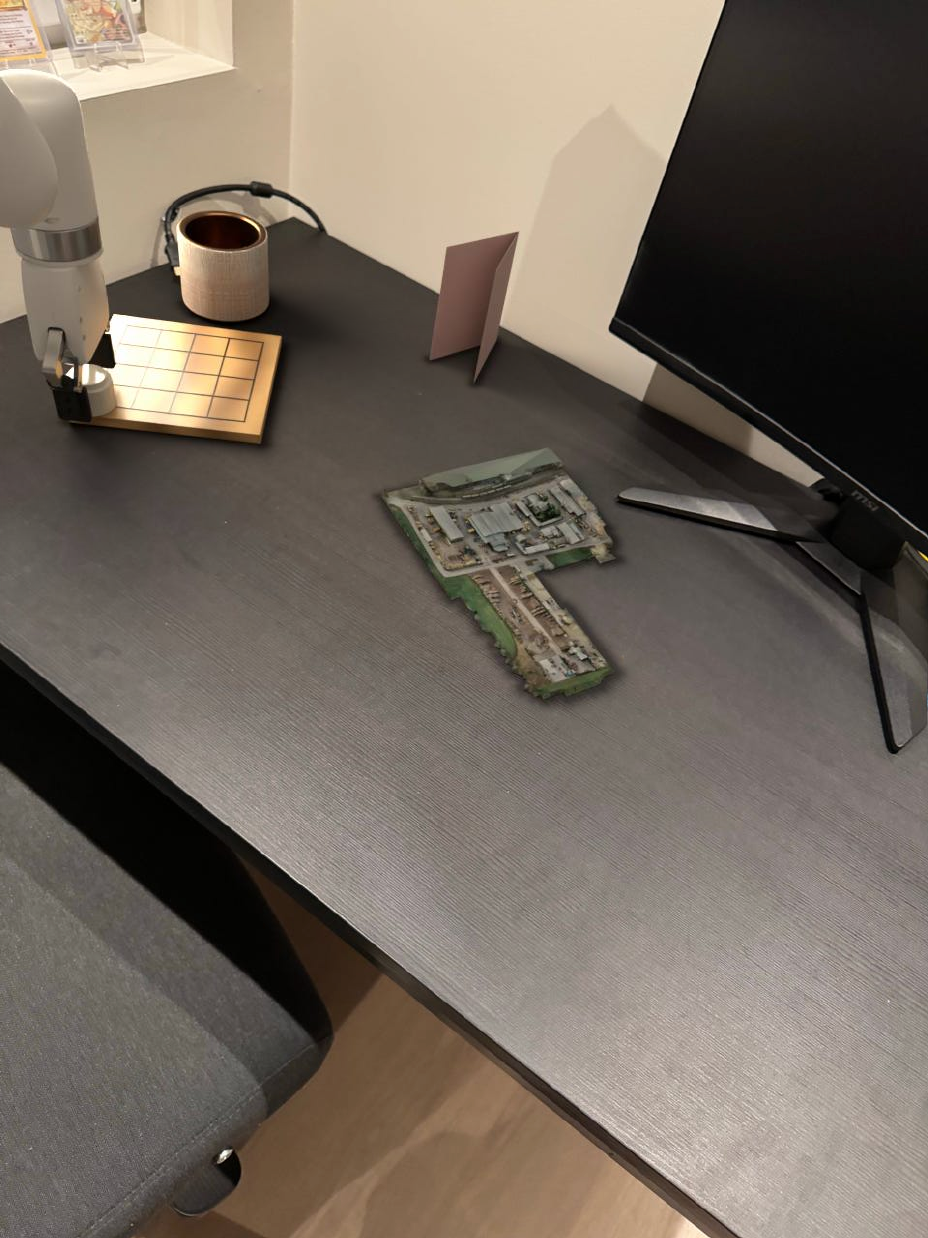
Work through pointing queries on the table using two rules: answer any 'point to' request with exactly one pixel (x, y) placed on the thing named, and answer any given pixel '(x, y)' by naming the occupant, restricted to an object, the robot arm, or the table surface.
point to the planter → (223, 265)
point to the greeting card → (473, 296)
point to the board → (190, 379)
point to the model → (511, 558)
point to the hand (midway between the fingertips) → (88, 391)
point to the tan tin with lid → (98, 389)
